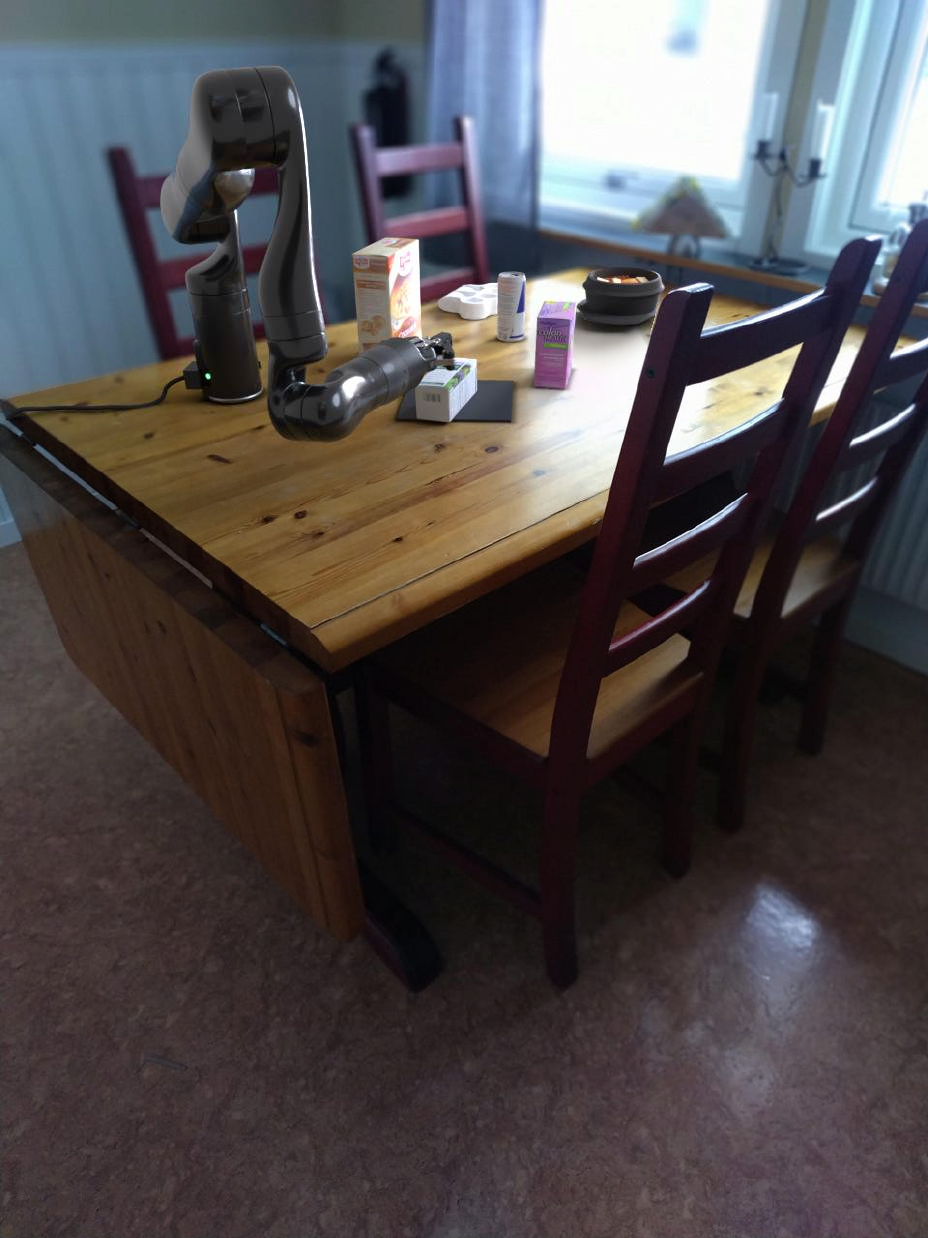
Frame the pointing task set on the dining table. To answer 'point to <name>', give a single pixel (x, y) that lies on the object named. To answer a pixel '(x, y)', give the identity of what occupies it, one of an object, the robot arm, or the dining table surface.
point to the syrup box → (446, 391)
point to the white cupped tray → (472, 301)
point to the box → (554, 344)
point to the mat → (473, 404)
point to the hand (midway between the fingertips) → (447, 338)
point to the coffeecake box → (387, 291)
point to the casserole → (621, 295)
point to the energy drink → (511, 306)
